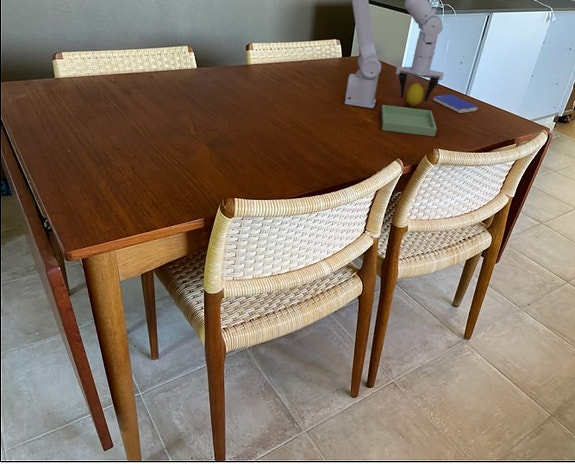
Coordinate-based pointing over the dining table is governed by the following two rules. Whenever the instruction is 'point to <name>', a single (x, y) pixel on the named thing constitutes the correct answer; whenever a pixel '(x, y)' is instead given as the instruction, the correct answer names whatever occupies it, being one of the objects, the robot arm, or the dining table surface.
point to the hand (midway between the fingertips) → (413, 98)
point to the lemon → (414, 94)
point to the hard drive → (455, 103)
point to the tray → (408, 120)
